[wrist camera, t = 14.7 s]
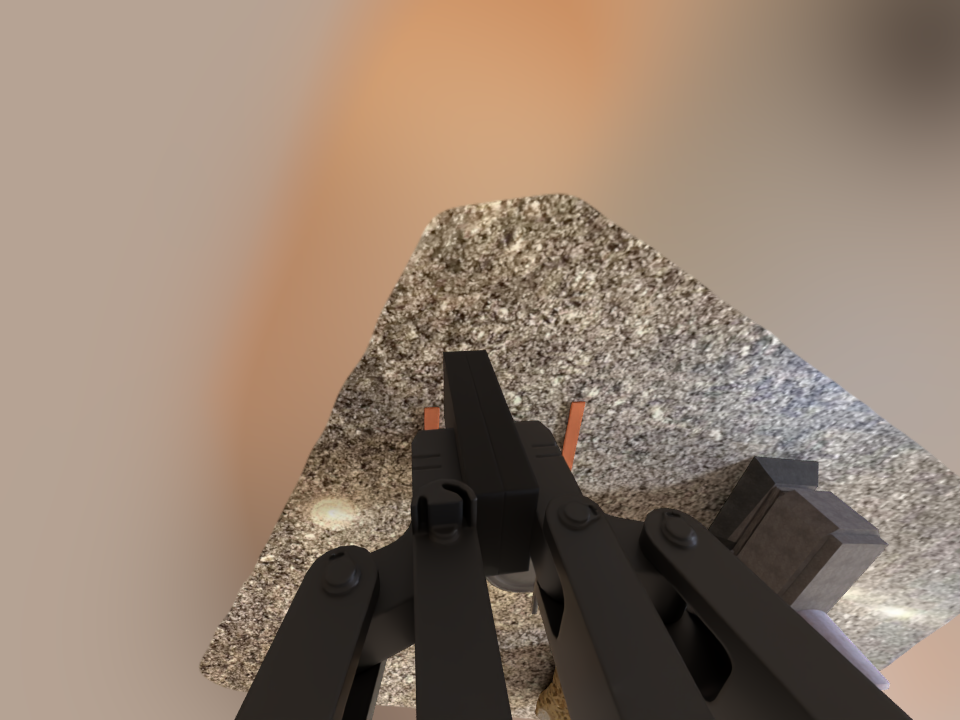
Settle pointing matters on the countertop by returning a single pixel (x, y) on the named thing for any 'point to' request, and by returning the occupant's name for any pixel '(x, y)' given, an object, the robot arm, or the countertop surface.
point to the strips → (570, 437)
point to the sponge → (552, 702)
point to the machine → (800, 544)
